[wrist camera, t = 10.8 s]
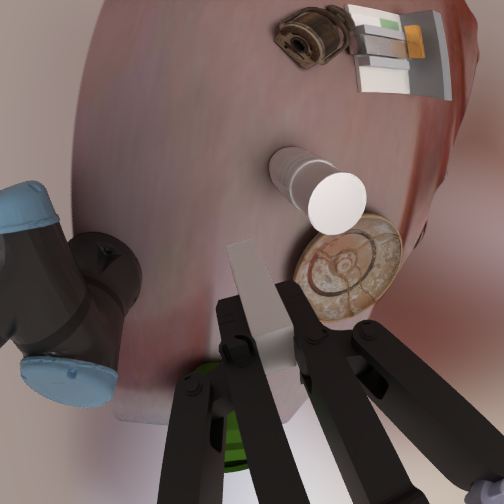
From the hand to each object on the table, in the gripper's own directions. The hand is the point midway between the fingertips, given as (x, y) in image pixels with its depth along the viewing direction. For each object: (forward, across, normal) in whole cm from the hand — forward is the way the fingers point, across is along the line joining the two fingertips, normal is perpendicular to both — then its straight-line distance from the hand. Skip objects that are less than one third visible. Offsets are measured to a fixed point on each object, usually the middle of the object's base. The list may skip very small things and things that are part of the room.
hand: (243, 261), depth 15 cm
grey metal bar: (+23, +28, +16) cm, 40 cm away
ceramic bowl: (+25, +20, -23) cm, 39 cm away
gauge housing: (+24, +30, +15) cm, 42 cm away
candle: (+25, +11, -3) cm, 27 cm away
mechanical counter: (+25, +18, +16) cm, 35 cm away
